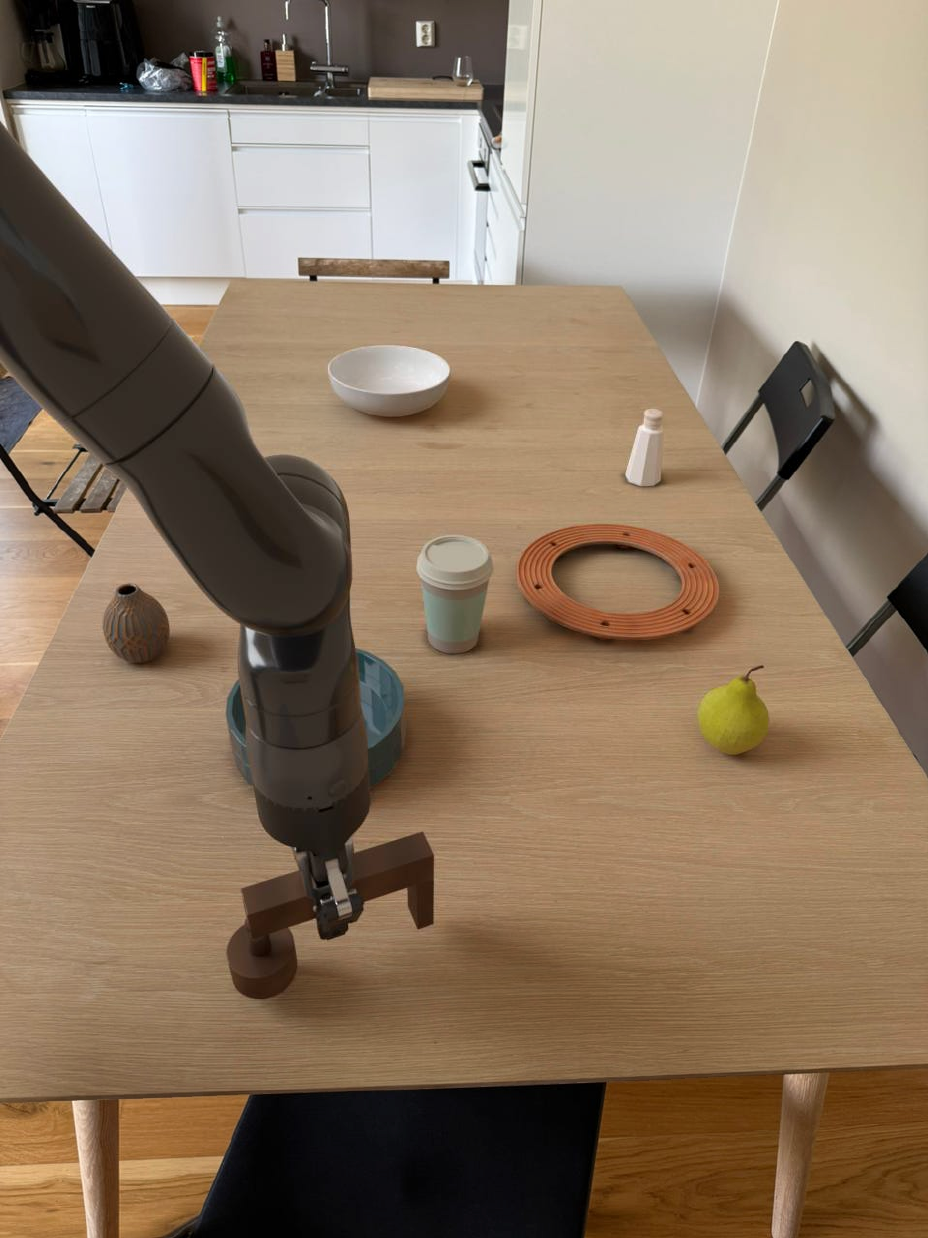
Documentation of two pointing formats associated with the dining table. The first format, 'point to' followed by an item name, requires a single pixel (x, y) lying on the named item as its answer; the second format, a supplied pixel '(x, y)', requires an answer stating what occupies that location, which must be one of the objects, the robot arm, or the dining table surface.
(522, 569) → the ring
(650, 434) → the pepper shaker
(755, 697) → the fruit
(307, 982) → the dining table surface
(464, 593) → the coffee cup
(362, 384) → the serving bowl
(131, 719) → the dining table surface
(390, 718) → the mixing bowl
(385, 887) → the brown wooden bracket
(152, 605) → the vase
